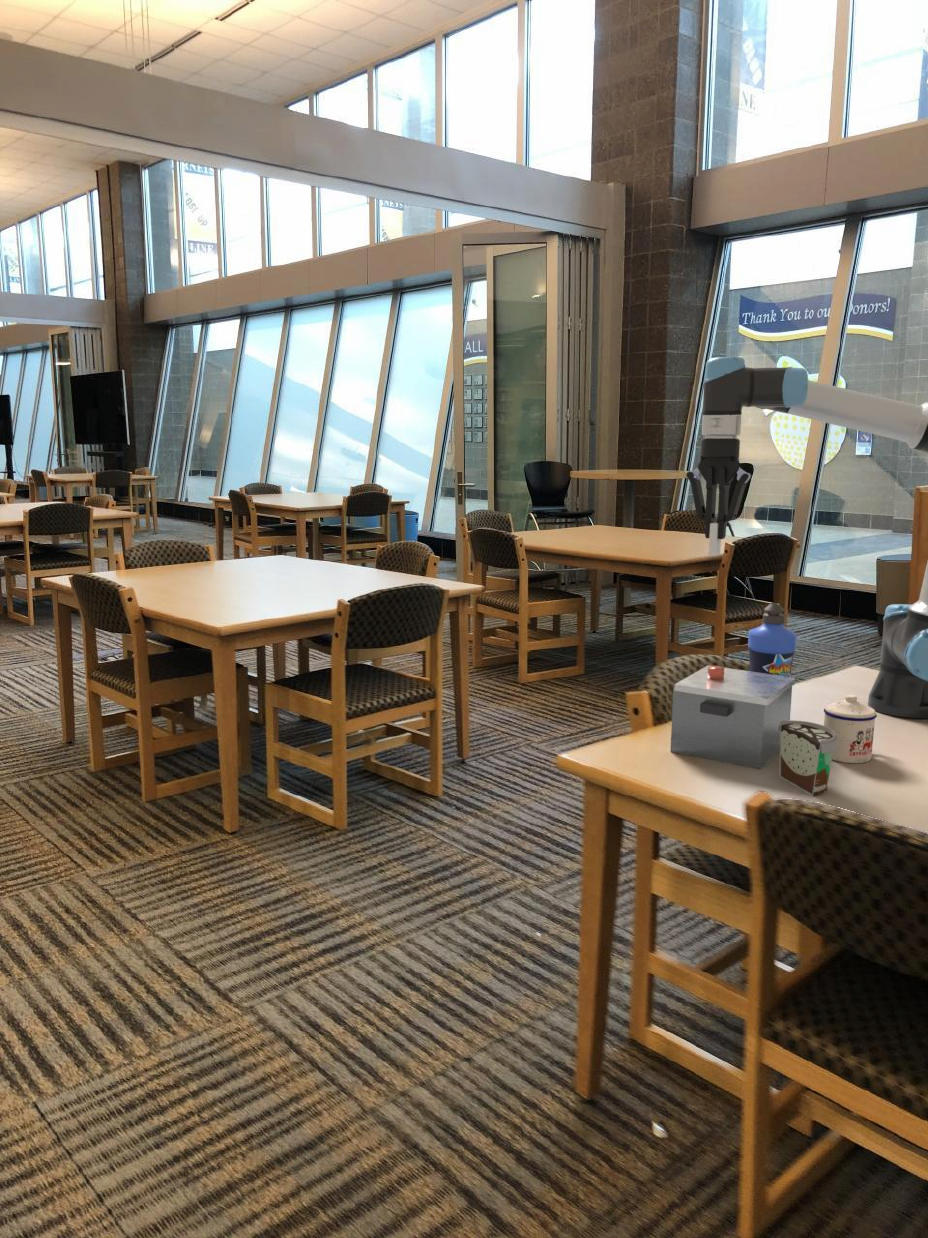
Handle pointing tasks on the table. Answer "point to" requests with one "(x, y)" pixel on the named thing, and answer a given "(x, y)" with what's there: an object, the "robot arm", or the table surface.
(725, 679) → the grey box lid
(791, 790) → the table surface
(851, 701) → the teacup with lid
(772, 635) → the water bottle
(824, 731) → the food container
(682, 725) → the grey storage box
